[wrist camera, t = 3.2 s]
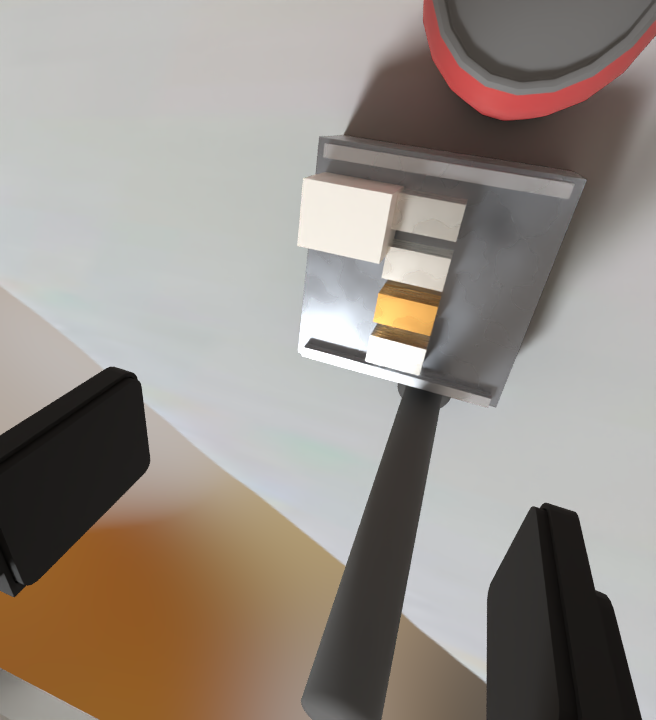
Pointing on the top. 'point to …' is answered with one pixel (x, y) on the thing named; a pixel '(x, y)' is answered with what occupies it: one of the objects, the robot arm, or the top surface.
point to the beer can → (534, 50)
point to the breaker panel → (472, 286)
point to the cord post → (376, 573)
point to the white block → (347, 216)
